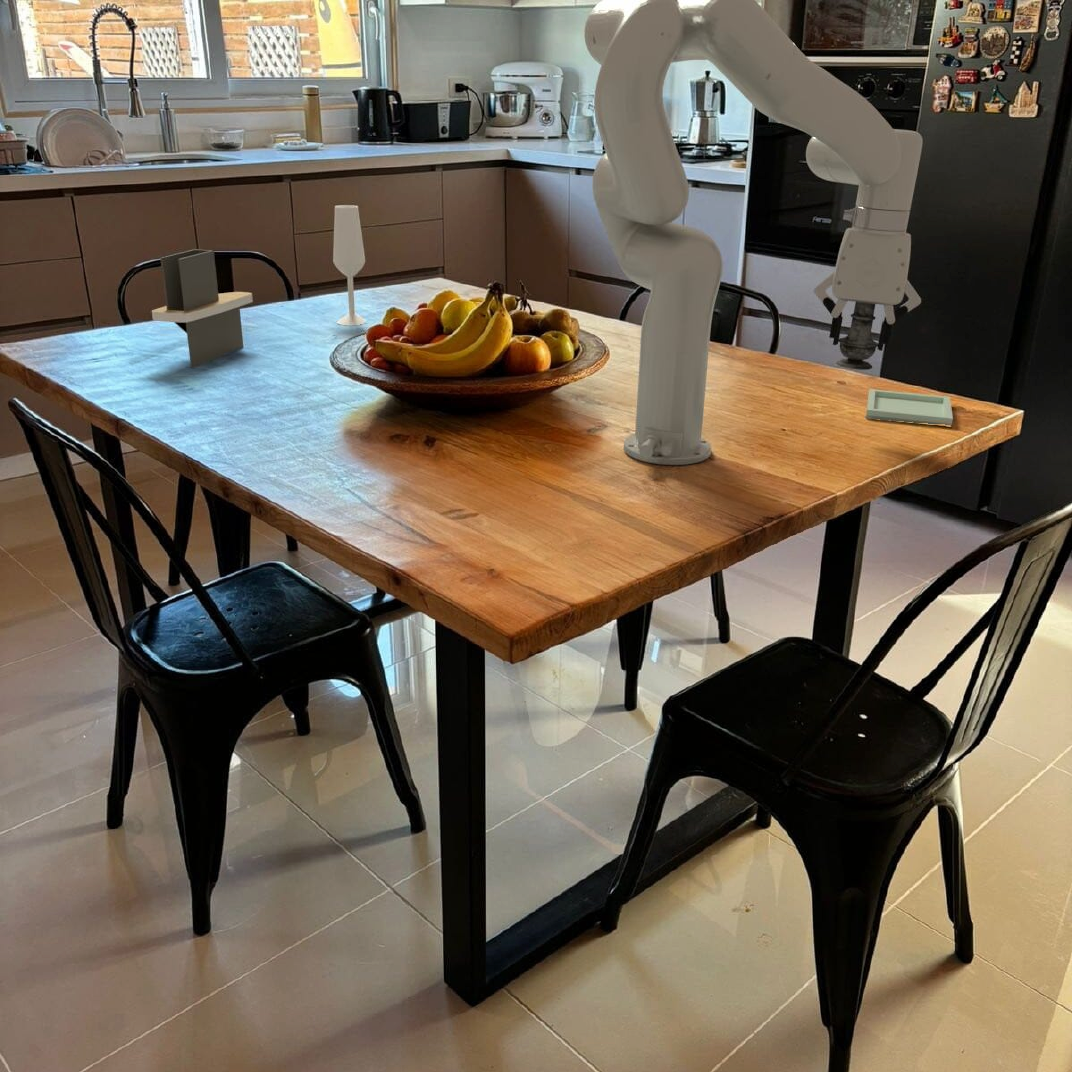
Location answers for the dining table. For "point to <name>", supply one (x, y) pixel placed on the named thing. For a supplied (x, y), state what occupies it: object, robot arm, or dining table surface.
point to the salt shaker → (859, 338)
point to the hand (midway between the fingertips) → (857, 344)
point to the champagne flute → (348, 253)
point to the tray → (909, 407)
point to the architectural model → (201, 306)
